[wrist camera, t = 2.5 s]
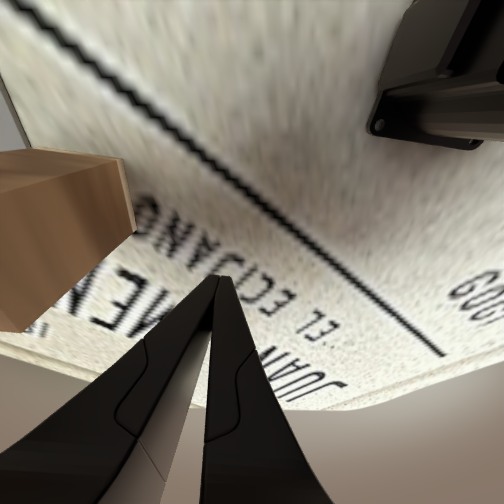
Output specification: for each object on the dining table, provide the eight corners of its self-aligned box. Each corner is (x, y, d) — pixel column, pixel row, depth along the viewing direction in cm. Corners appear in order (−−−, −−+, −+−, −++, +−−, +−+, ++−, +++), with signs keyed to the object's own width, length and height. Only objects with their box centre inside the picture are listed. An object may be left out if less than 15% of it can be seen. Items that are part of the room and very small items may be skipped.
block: (122, 158, 13) (-79, 215, 5) (137, 228, 15) (21, 333, 8) (39, 146, 12) (-302, 188, 5) (69, 220, 15) (-117, 320, 8)
